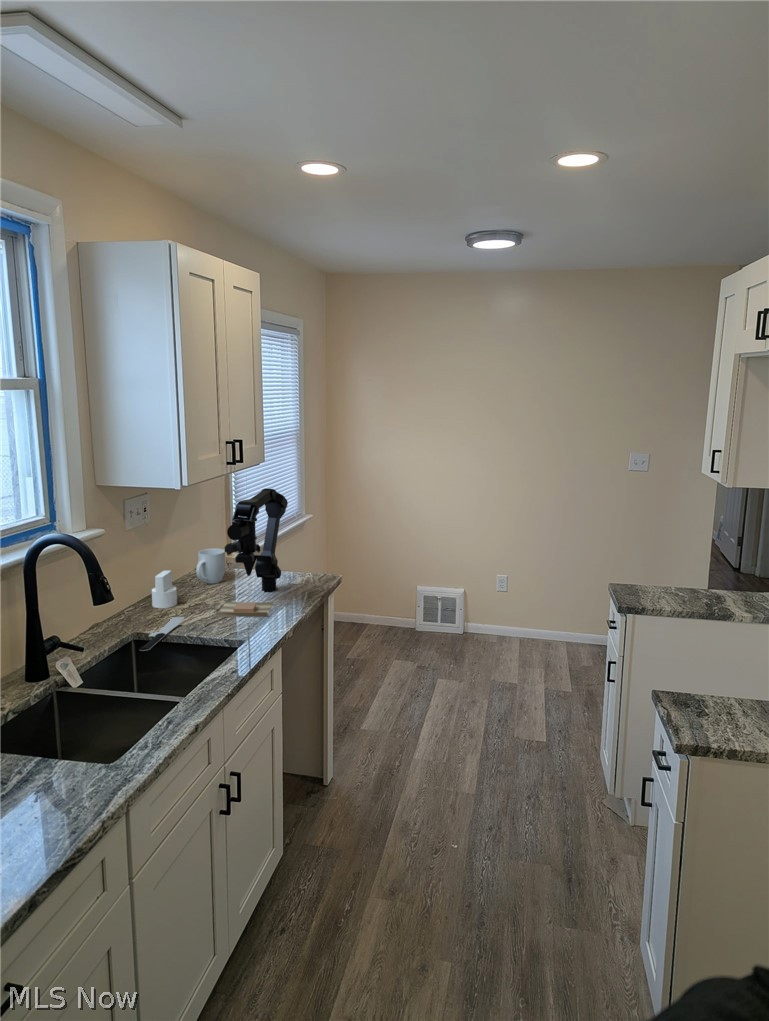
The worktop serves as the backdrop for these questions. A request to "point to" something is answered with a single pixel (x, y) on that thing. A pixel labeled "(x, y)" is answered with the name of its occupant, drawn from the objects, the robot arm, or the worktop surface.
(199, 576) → the mug
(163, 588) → the base with upright slab
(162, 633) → the kitchen cleaver
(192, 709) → the worktop surface
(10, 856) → the worktop surface
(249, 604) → the tile
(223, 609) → the board
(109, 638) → the worktop surface
